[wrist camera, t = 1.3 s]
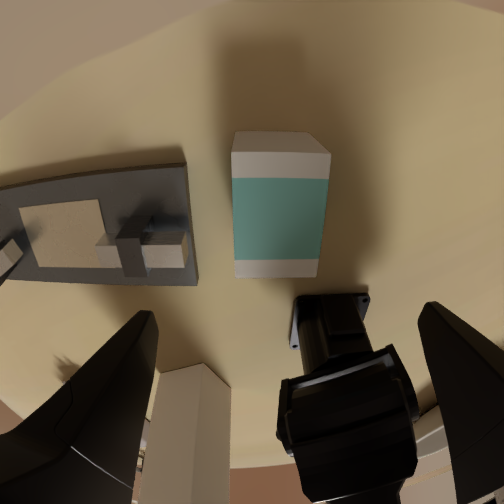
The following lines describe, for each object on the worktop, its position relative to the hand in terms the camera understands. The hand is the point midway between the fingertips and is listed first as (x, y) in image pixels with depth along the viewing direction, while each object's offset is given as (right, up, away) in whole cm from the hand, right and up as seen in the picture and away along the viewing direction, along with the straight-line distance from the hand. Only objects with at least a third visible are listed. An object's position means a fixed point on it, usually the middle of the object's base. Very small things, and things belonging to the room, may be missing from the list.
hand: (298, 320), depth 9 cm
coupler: (0, +7, +10) cm, 12 cm away
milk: (-8, -12, +22) cm, 27 cm away
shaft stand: (-16, +4, +11) cm, 20 cm away
